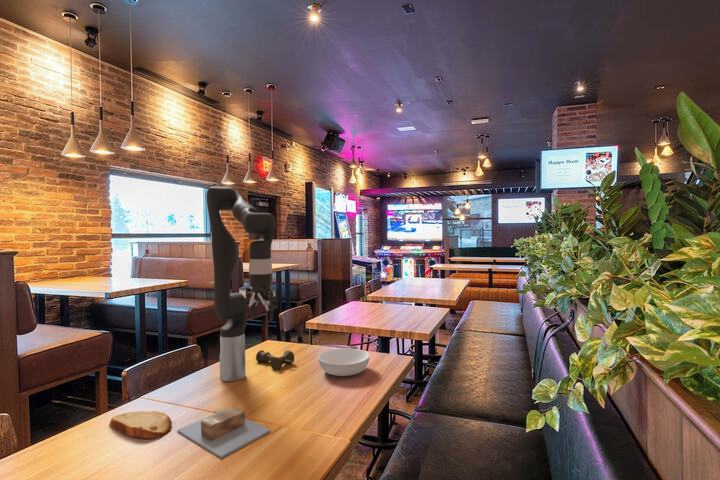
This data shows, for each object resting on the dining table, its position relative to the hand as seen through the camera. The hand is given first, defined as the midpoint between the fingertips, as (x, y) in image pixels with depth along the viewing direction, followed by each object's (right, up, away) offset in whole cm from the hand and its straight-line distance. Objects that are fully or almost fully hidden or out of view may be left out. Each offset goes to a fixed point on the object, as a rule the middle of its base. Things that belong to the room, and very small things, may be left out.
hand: (261, 319), depth 131 cm
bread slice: (-32, -30, -16) cm, 47 cm away
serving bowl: (+27, -27, +26) cm, 46 cm away
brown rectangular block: (-6, -28, -19) cm, 35 cm away
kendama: (-3, -27, +35) cm, 45 cm away
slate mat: (-6, -29, -19) cm, 35 cm away
